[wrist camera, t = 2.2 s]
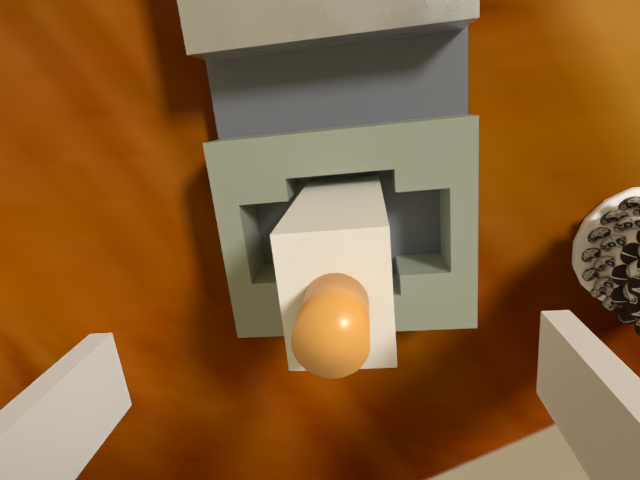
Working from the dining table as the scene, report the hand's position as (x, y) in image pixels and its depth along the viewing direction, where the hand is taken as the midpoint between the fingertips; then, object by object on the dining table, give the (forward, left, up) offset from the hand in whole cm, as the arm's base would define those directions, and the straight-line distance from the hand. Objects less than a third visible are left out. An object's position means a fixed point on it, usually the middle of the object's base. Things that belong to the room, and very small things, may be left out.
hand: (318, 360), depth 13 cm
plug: (0, 0, -16) cm, 16 cm away
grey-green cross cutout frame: (0, 0, -16) cm, 16 cm away
